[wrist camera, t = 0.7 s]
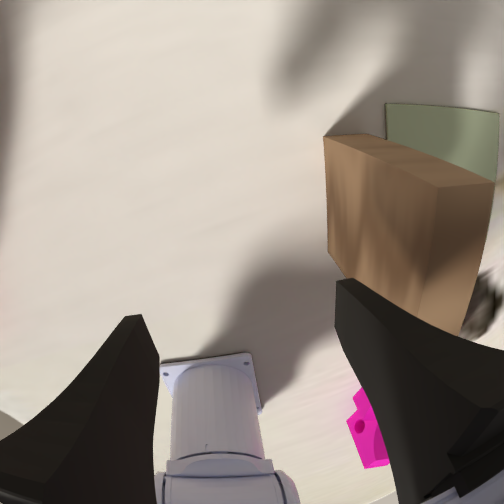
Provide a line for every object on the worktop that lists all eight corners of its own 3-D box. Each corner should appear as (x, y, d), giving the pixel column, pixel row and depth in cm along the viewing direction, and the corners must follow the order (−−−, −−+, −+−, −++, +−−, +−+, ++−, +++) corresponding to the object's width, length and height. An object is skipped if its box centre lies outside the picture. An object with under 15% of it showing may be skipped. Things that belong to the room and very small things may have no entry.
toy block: (408, 327, 27) (446, 382, 21) (442, 335, 29) (477, 382, 22) (329, 419, 33) (347, 470, 26) (367, 419, 35) (386, 465, 28)
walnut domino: (365, 244, 22) (453, 346, 12) (327, 251, 22) (403, 365, 12) (366, 133, 18) (495, 182, 8) (323, 136, 18) (437, 187, 8)
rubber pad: (484, 241, 24) (485, 242, 23) (381, 264, 23) (382, 266, 23) (497, 113, 18) (499, 113, 18) (385, 103, 17) (386, 103, 17)
